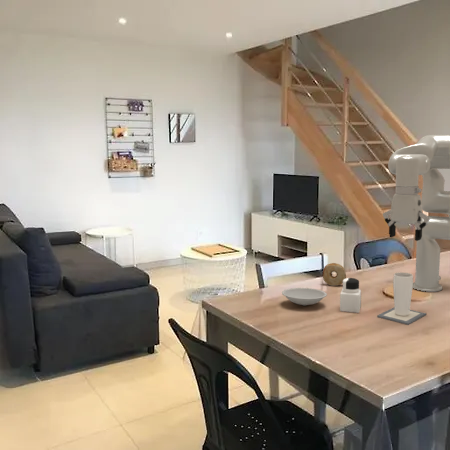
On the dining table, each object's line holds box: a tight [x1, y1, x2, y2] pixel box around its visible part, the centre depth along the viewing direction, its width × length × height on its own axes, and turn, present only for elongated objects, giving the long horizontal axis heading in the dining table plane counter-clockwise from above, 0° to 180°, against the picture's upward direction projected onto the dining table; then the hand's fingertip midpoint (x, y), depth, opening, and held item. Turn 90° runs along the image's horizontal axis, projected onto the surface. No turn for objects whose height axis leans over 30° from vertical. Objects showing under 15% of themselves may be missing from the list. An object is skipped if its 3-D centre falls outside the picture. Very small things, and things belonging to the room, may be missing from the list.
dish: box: [281, 287, 328, 307], centre depth 204 cm, size 18×14×5 cm
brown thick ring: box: [322, 262, 347, 287], centre depth 229 cm, size 10×4×10 cm, turn 68°
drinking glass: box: [392, 272, 414, 316], centre depth 188 cm, size 7×7×15 cm
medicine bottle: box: [339, 277, 362, 314], centre depth 197 cm, size 7×7×12 cm
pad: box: [376, 307, 427, 326], centre depth 189 cm, size 14×12×1 cm
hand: (404, 238), depth 185 cm, fingers open, 9 cm apart
